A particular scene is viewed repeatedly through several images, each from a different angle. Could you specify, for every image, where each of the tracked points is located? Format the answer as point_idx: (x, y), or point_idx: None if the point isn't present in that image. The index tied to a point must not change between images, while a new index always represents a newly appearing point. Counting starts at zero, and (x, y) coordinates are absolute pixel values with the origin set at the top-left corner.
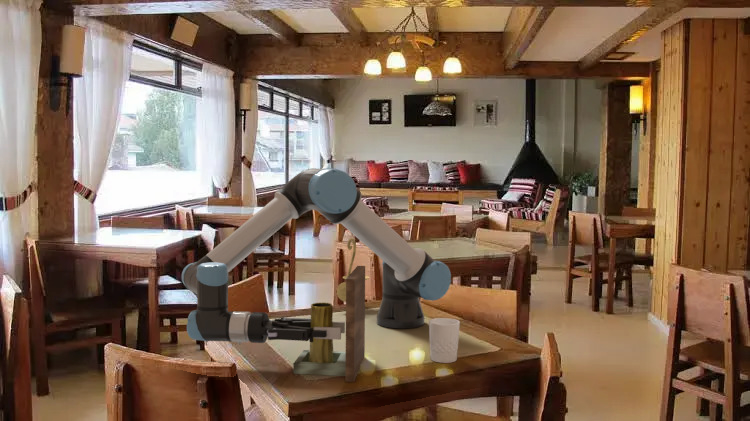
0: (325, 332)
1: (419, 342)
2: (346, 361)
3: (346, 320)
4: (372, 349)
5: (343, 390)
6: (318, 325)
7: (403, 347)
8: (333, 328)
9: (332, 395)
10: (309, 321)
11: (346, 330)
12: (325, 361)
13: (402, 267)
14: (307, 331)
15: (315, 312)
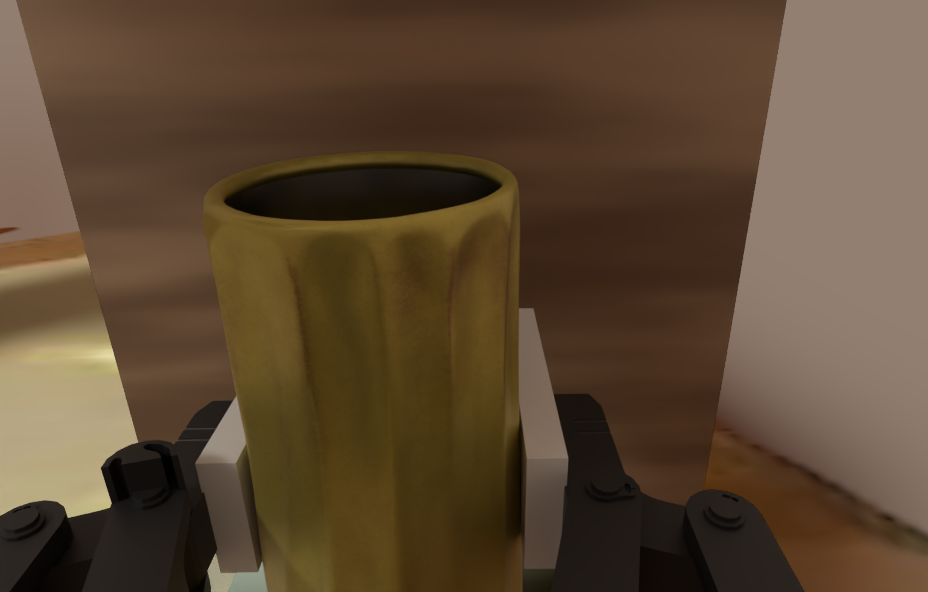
0: (592, 403)
1: (10, 353)
2: (710, 430)
3: (757, 156)
4: (24, 491)
5: (840, 530)
6: (518, 413)
7: (64, 388)
8: (539, 339)
9: None
10: (146, 579)
11: (745, 233)
12: None
13: None
14: (743, 506)
15: (505, 282)
